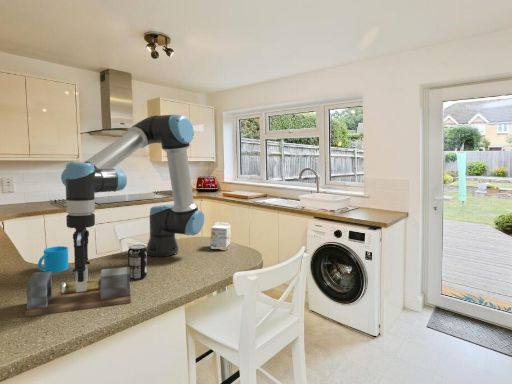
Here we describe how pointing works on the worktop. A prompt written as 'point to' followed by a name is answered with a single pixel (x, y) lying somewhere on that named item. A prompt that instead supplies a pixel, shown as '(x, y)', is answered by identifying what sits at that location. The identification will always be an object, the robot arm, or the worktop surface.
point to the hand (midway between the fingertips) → (82, 288)
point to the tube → (90, 287)
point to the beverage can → (137, 261)
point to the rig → (45, 302)
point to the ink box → (220, 234)
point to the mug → (54, 259)
